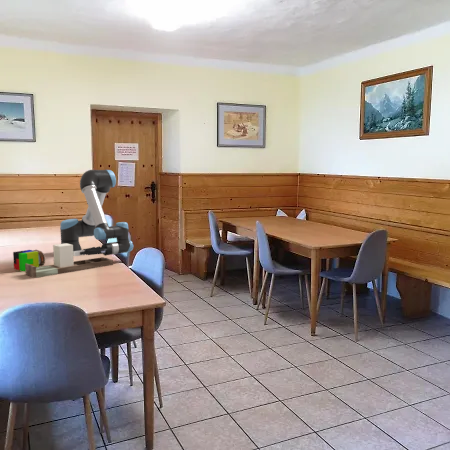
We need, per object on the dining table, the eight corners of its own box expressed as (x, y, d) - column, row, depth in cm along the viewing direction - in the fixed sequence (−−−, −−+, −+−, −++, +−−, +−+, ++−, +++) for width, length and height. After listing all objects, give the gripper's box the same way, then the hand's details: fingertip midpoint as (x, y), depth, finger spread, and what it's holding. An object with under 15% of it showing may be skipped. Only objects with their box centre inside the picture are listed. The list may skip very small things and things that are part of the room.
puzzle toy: (30, 266, 275) (29, 249, 274) (39, 268, 269) (38, 251, 267) (14, 268, 267) (13, 252, 266) (22, 271, 261) (21, 254, 260)
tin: (45, 265, 276) (44, 251, 275) (40, 266, 274) (39, 252, 273) (35, 261, 287) (34, 248, 286) (30, 262, 285) (29, 249, 284)
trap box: (25, 274, 254) (25, 263, 253) (103, 261, 288) (102, 252, 287) (34, 278, 246) (34, 267, 245) (113, 264, 279) (112, 255, 278)
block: (54, 265, 263) (53, 244, 261) (67, 263, 269) (66, 243, 267) (60, 267, 257) (59, 246, 256) (73, 265, 263) (72, 244, 261)
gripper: (115, 256, 279) (79, 261, 262) (104, 253, 288) (68, 258, 271) (115, 244, 278) (79, 248, 261) (104, 241, 287) (68, 246, 270)
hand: (74, 253), depth 266 cm, fingers closed
